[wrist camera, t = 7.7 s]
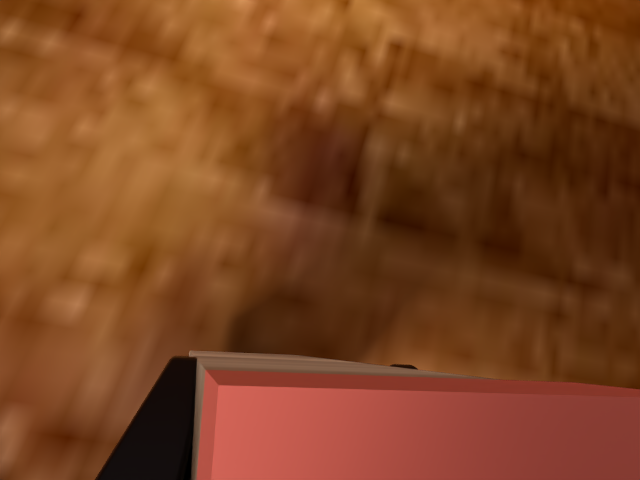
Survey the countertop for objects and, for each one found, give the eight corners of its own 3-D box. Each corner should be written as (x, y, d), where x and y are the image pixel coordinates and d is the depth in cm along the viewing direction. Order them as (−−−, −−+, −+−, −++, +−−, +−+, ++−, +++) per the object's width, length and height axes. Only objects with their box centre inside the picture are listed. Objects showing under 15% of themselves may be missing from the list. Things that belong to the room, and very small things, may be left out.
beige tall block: (293, 468, 16) (806, 1052, 3) (177, 468, 16) (153, 1257, 2) (298, 353, 17) (741, 399, 4) (187, 348, 16) (218, 385, 3)
